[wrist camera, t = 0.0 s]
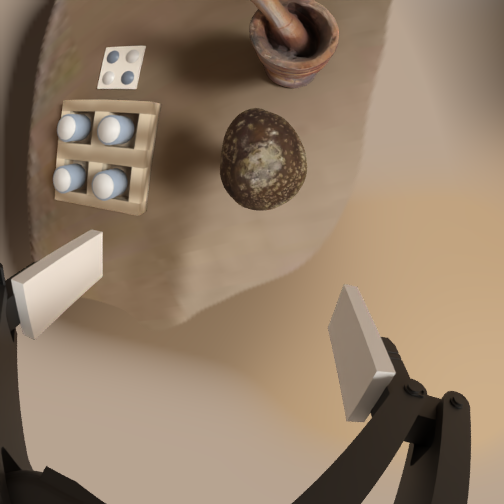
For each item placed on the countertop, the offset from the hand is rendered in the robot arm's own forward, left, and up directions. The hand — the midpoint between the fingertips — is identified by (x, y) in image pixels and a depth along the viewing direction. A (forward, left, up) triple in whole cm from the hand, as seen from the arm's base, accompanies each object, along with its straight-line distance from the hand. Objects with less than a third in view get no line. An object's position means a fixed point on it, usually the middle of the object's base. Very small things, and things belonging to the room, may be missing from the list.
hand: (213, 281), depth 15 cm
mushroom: (-5, +1, -28) cm, 29 cm away
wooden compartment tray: (-2, -23, -28) cm, 36 cm away
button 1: (-6, -27, -25) cm, 37 cm away
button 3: (+2, -27, -25) cm, 37 cm away
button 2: (-6, -20, -25) cm, 32 cm away
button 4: (+2, -20, -25) cm, 32 cm away
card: (-16, -23, -28) cm, 40 cm away
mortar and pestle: (-19, 0, -28) cm, 34 cm away
